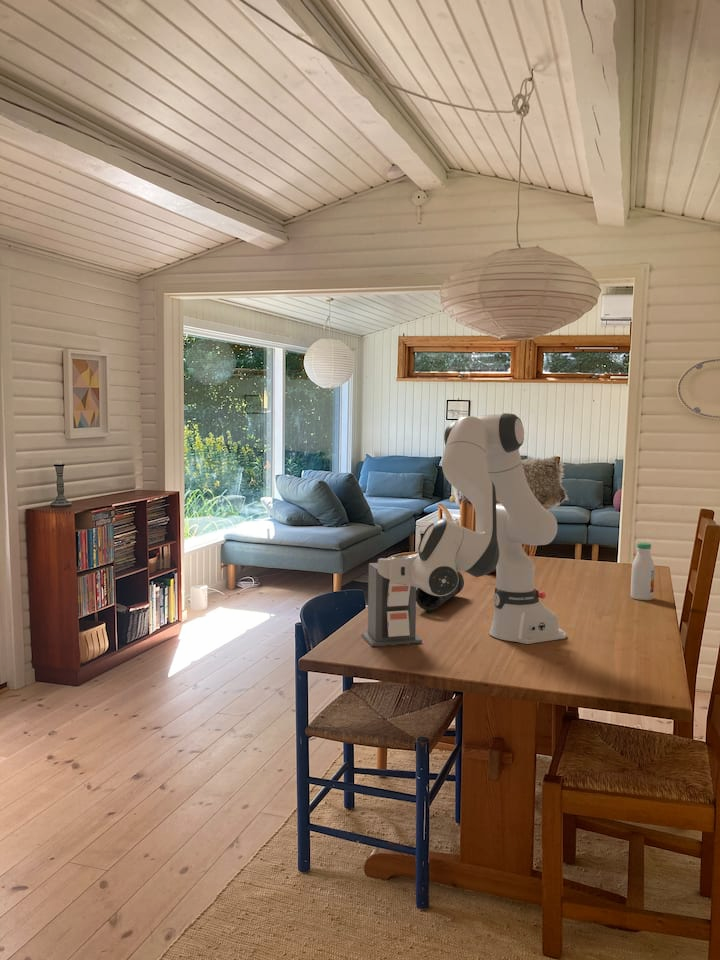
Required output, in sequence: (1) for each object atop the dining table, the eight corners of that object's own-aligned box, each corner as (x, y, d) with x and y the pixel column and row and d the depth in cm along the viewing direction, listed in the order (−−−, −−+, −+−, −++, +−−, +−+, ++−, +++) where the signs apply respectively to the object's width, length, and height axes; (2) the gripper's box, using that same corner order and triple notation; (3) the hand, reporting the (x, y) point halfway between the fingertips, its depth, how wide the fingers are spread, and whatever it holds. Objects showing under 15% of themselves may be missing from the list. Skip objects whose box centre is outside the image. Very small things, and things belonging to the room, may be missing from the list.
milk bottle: (645, 601, 274) (648, 546, 273) (626, 597, 280) (628, 542, 278) (657, 598, 279) (659, 543, 277) (637, 594, 285) (640, 540, 283)
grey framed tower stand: (409, 632, 234) (411, 560, 232) (421, 643, 223) (423, 567, 221) (361, 635, 230) (362, 562, 228) (371, 646, 219) (372, 570, 217)
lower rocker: (409, 635, 221) (407, 610, 222) (410, 635, 219) (409, 610, 220) (387, 636, 219) (386, 611, 220) (389, 636, 218) (387, 611, 219)
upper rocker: (407, 603, 222) (410, 581, 219) (409, 605, 220) (411, 583, 218) (386, 604, 220) (388, 582, 218) (387, 606, 219) (389, 584, 216)
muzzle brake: (413, 612, 258) (414, 581, 257) (440, 594, 283) (440, 566, 282) (441, 615, 254) (442, 584, 253) (465, 597, 279) (466, 568, 278)
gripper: (464, 557, 196) (447, 550, 209) (385, 557, 192) (373, 550, 205) (463, 582, 196) (446, 573, 209) (384, 583, 192) (372, 574, 205)
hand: (409, 562), depth 207 cm, fingers open, 8 cm apart
